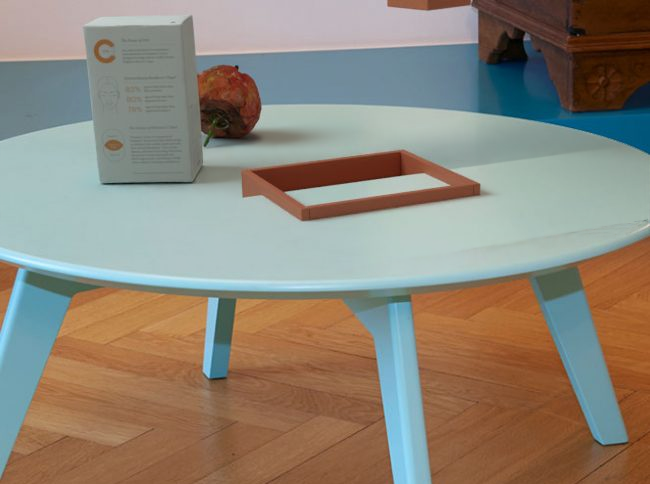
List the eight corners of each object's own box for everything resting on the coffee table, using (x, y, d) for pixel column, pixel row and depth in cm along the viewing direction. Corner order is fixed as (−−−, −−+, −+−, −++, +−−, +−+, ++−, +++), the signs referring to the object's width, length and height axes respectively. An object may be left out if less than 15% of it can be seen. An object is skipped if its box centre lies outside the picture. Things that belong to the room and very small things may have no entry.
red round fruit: (251, 170, 107) (291, 91, 111) (212, 118, 102) (255, 37, 106) (191, 169, 111) (231, 93, 115) (150, 119, 106) (195, 41, 110)
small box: (204, 164, 100) (194, 13, 95) (193, 183, 94) (182, 22, 90) (113, 165, 101) (99, 14, 96) (97, 184, 95) (81, 24, 90)
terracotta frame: (403, 180, 94) (403, 149, 93) (479, 217, 84) (480, 183, 83) (242, 202, 89) (240, 169, 88) (302, 245, 78) (301, 209, 78)
